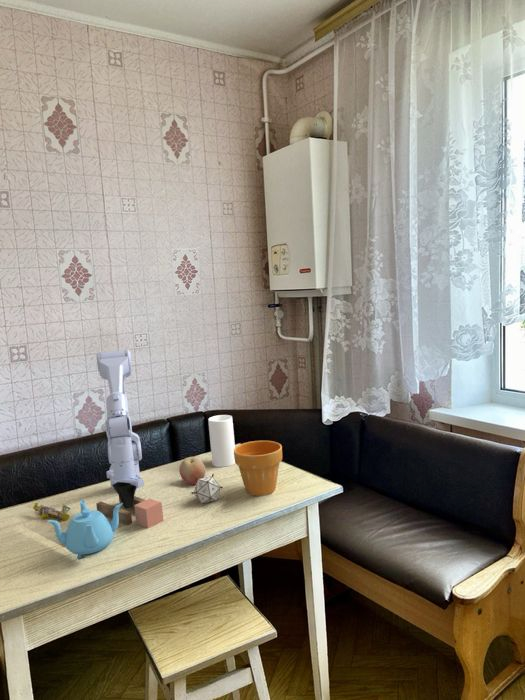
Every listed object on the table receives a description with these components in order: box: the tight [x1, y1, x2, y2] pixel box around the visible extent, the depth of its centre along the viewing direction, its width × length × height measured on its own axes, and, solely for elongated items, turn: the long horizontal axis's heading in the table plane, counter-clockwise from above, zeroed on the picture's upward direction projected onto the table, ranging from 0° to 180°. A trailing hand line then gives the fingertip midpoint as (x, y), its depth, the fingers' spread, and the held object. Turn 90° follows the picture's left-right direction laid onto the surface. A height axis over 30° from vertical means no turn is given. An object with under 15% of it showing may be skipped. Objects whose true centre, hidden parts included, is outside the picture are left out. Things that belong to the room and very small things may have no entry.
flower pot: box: [234, 440, 283, 497], centre depth 158 cm, size 14×14×13 cm
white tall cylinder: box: [207, 414, 236, 468], centre depth 184 cm, size 8×8×16 cm
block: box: [134, 498, 164, 529], centre depth 140 cm, size 5×5×5 cm
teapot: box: [47, 499, 123, 560], centre depth 130 cm, size 13×13×10 cm
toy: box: [32, 502, 71, 523], centre depth 151 cm, size 5×5×15 cm
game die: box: [190, 473, 224, 505], centre depth 152 cm, size 9×8×10 cm
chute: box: [96, 495, 146, 526], centre depth 148 cm, size 14×9×4 cm, turn 50°
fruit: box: [179, 456, 206, 485], centre depth 169 cm, size 8×8×8 cm
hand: (128, 507), depth 147 cm, fingers closed
